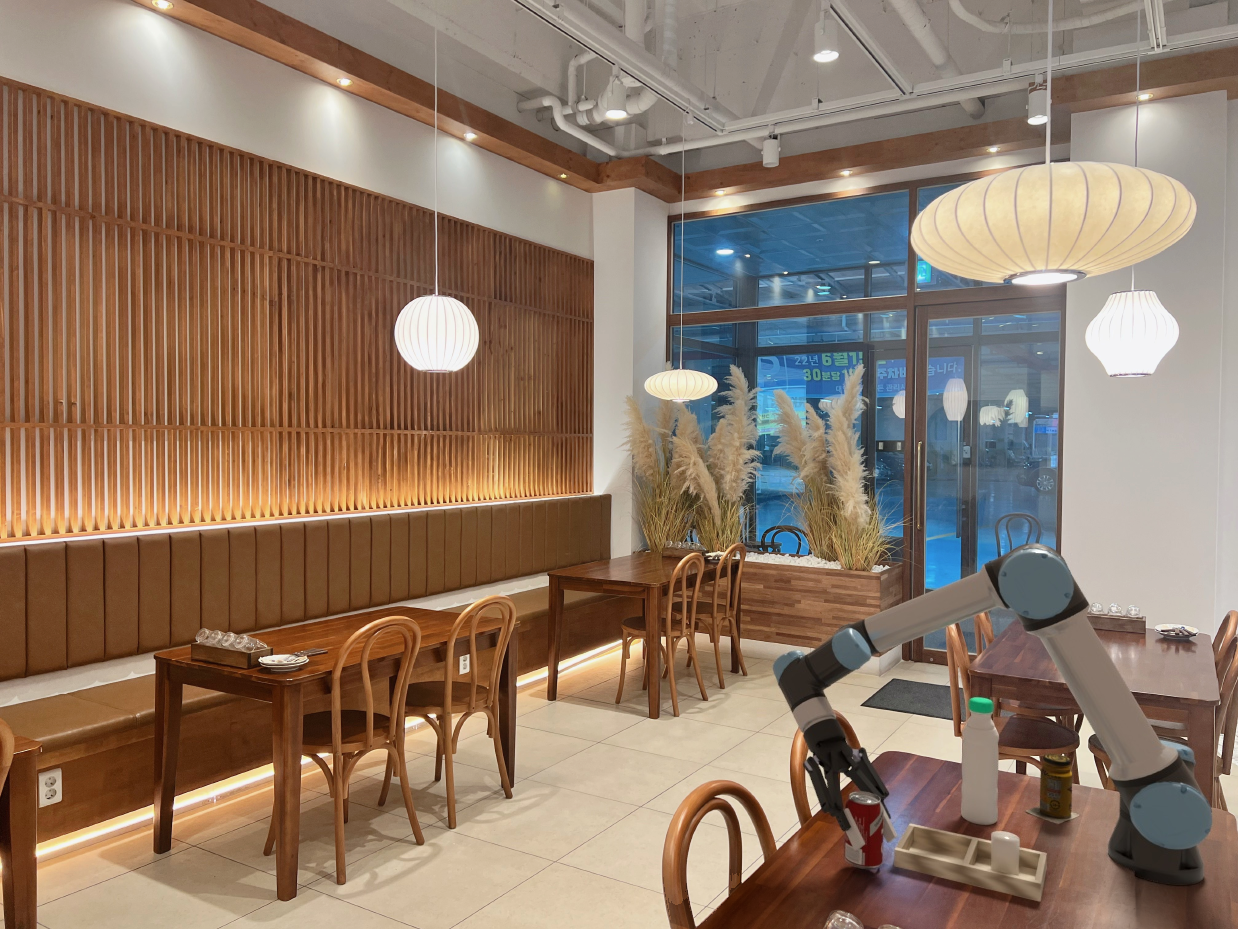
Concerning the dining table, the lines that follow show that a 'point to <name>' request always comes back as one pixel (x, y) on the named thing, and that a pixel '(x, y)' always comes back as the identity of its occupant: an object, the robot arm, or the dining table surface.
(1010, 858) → the salt shaker
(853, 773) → the robot arm
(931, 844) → the drink caddy
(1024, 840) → the dining table surface
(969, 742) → the water bottle
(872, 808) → the soda can
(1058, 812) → the condiment
